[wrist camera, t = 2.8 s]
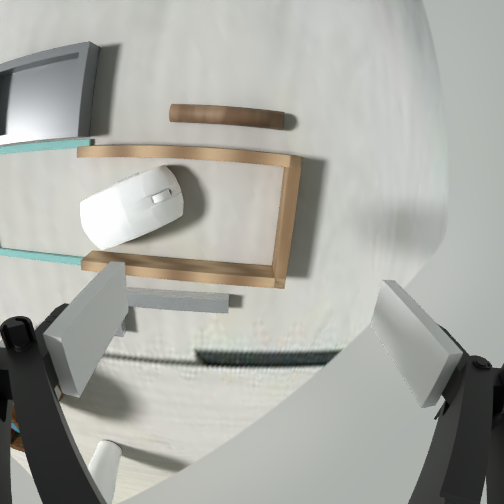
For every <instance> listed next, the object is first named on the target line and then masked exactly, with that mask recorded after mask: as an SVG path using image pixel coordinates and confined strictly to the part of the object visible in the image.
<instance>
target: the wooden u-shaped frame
mask: <svg viewBox="0 0 504 504" xmlns="http://www.w3.org/2000/svg"><path fill="white" fill-rule="evenodd" d="M77 157H157V158H183V159H201V160H216V161H229V162H241V163H252V164H262V165H272V166H281V167H284V173H283V182H282V190H281V199H280V207H279V215H278V223H277V231H276V239H275V247H274V255H273V262H272V266H264V265H251V264H238V263H226V262H214V261H202V260H190V259H178V258H167V257H155V256H144V255H133V254H122V253H111V252H100V251H92V252H90V253H89V254H88V255H87V256H86V257H84V258H83V259H82V260H81V270H85V271H94V272H101V271H102V270H103V269H104V268H105V267H106V266H107V265H108V264H109V263H110V262H111V261H114V262H125V275H129V276H139V277H149V278H158V279H169V280H179V281H190V282H202V283H213V284H226V285H238V286H252V287H265V288H280V289H284V287H285V281H286V274H287V268H288V261H289V254H290V248H291V241H292V234H293V226H294V219H295V212H296V204H297V197H298V189H299V181H300V173H301V165H302V157H299V156H293V155H285V154H276V153H268V152H258V151H248V150H236V149H224V148H209V147H191V146H166V145H95V146H79V147H77Z"/></svg>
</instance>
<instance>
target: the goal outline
mask: <svg viewBox="0 0 504 504" xmlns="http://www.w3.org/2000/svg"><path fill="white" fill-rule="evenodd" d="M79 146H91V139H81V140H64V141H51V142H40V143H30V144H21V145H13V146H5V147H0V154H6V153H15V152H25V151H36V150H49V149H65V148H77V147H79ZM0 255H3V256H10V257H18V258H25V259H33V260H40V261H48V262H56V263H64V264H73V265H81V260H82V259H83V258H84V257H78V256H69V255H59V254H50V253H42V252H33V251H24V250H16V249H7V248H0Z"/></svg>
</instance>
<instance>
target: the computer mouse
mask: <svg viewBox="0 0 504 504" xmlns="http://www.w3.org/2000/svg"><path fill="white" fill-rule="evenodd" d="M183 204H184V200H183V196H182V192H181V188H180V186H179V184H178V182H177V180H176V178H175V176H174V174H173V173H172V172H171V171H170V170H169V169H168V168H167V167H166V166H165V165H162V166H159V167H156V168H153V169H150V170H148V171H145V172H143V173H140V174H139V173H136V174H134V175H132V176H130V177H127V178H125V179H123V180H121V181H118V183H116V184H114V185H112V186H110V187H108V188H106V189H103V190H101V191H99V192H97V193H95V194H93V195H92V196H90V197H88V198H86V199H84V200H83V201H81V203H80V212H81V221H82V226H83V229H84V231H85V232H86V234H87V235H88V237H89V238H90V240H91V241H92V242H93V243H94V244H95V245H96V246H97V247H98V248H99V249H100V250H104V249H107V248H111V247H114V246H116V245H119V244H121V243H124V242H127V241H130V240H133V239H135V238H138V237H140V236H142V235H145V234H147V233H150V232H152V231H154V230H157V229H159V228H160V227H162V226H164V225H166V224H168V223H170V222H172V221H174V220H176V219H178V218H179V217H181V216H182V215H183Z"/></svg>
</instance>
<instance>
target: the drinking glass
mask: <svg viewBox="0 0 504 504" xmlns="http://www.w3.org/2000/svg"><path fill="white" fill-rule="evenodd" d="M121 454H122V450H121V448H120V447H119V446H118V445H116V444H115V443H113V442H110V441H106V440H102V441H100V442H99V443H98V446H97V448H96V451H95V453H94V455H93V457H92V459H91V461H90V463H89V465H88V467H87V468H88V470H89V472H90V474H91V476H92V478H93V480H94V482H95V483H96V485H97V487H98V489H99V491H100V492H101V494H102V496H103V498H104V499H105V501H106V503H107V504H111V503H112V500H113V496H114V492H115V486H116V479H117V473H118V467H119V462H120V458H121Z"/></svg>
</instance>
